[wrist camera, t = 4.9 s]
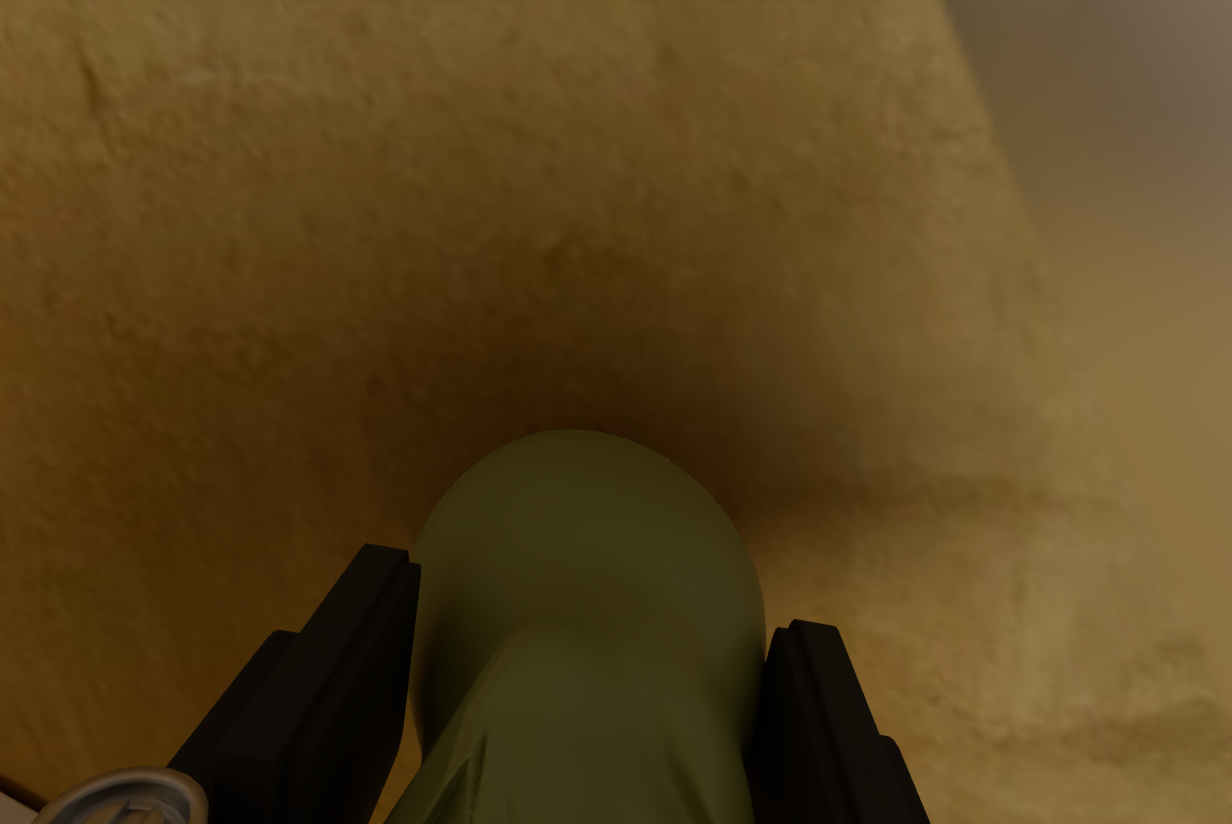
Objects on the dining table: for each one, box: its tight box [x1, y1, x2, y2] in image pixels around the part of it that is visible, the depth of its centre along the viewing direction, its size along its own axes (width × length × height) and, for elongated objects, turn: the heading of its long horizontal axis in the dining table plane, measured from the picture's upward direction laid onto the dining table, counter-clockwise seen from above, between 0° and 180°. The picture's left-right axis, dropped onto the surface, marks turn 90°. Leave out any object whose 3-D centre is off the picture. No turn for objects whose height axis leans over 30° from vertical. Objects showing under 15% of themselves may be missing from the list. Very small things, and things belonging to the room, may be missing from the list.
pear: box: [383, 429, 766, 824], centre depth 11 cm, size 6×5×10 cm
